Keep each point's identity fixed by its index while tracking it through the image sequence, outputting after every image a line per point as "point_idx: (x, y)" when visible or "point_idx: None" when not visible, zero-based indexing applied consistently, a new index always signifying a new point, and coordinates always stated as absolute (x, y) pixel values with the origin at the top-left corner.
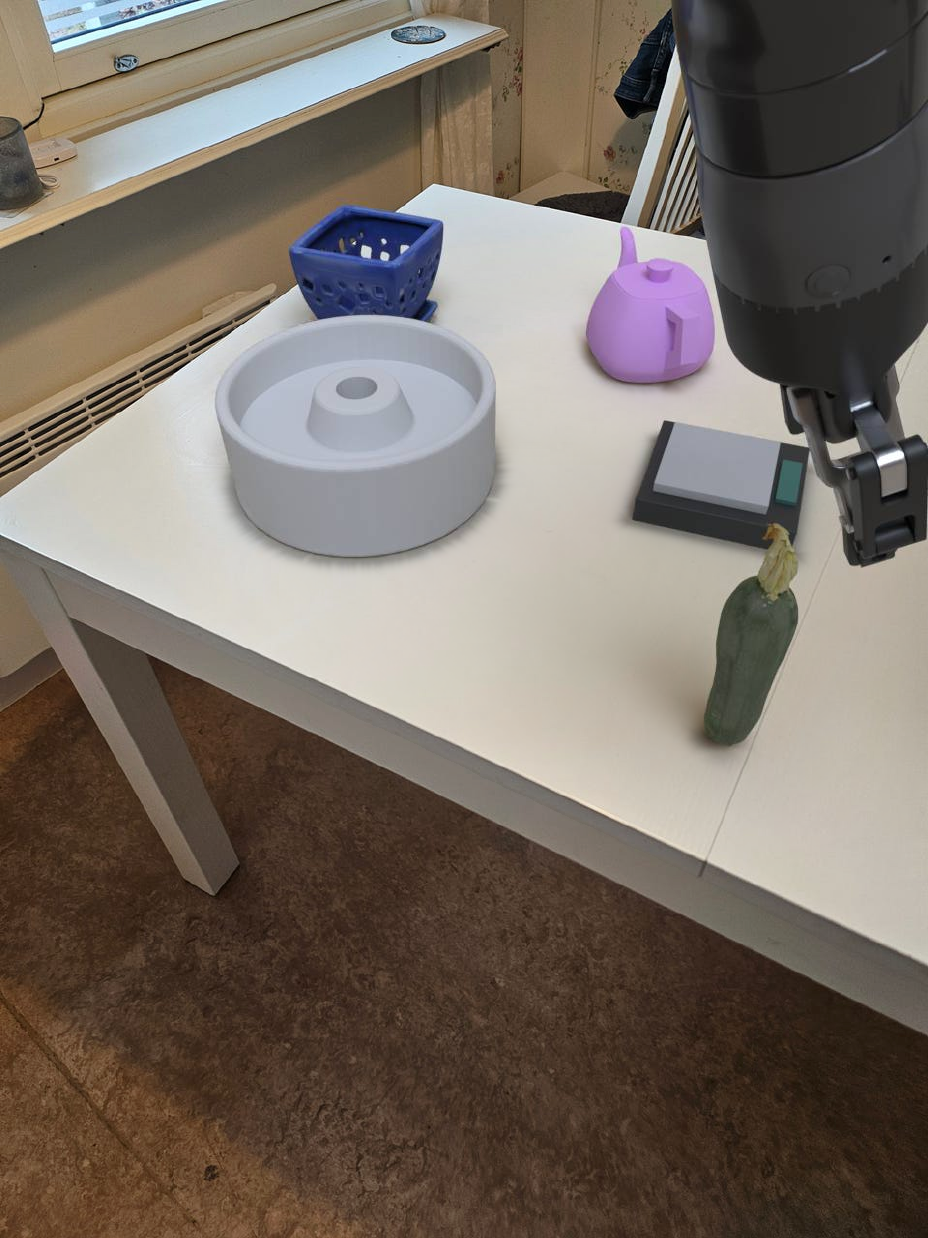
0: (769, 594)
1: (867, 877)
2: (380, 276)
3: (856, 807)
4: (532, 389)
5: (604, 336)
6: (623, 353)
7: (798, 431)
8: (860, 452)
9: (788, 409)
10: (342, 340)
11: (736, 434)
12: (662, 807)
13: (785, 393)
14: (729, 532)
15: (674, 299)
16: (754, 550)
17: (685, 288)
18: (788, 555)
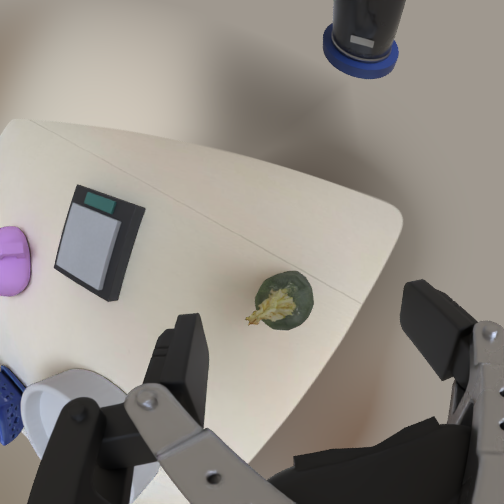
0: (292, 310)
1: (374, 222)
2: (2, 412)
3: (333, 215)
4: (36, 331)
5: (9, 292)
6: (17, 283)
7: (207, 349)
8: (465, 418)
9: (205, 393)
10: (39, 438)
11: (65, 228)
12: (332, 324)
13: (203, 422)
14: (130, 244)
15: None
16: (141, 229)
17: None
18: (277, 304)
